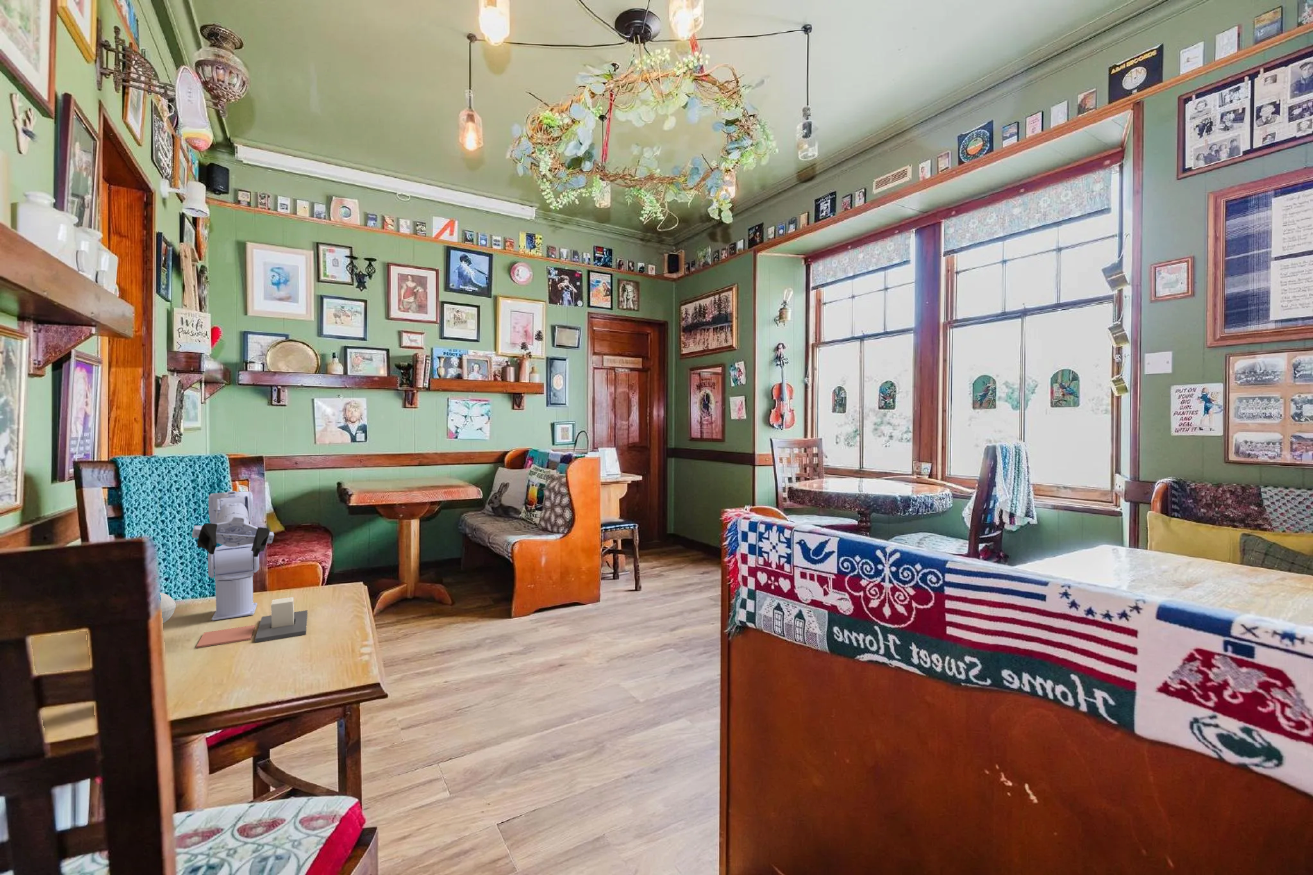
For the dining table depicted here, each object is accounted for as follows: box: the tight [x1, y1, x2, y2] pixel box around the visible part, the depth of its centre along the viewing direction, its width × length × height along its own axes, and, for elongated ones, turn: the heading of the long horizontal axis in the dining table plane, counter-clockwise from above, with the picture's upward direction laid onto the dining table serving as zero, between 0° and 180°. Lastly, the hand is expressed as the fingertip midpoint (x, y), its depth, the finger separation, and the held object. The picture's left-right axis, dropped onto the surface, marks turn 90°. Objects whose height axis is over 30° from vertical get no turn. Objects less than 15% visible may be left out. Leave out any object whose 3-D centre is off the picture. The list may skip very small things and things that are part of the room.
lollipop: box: [159, 592, 177, 624], centre depth 103 cm, size 6×6×15 cm
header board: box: [254, 609, 308, 643], centre depth 128 cm, size 16×9×1 cm, turn 30°
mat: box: [195, 624, 256, 649], centre depth 122 cm, size 9×9×1 cm
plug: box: [270, 596, 295, 628], centre depth 128 cm, size 4×4×6 cm
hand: (235, 551), depth 121 cm, fingers open, 7 cm apart
